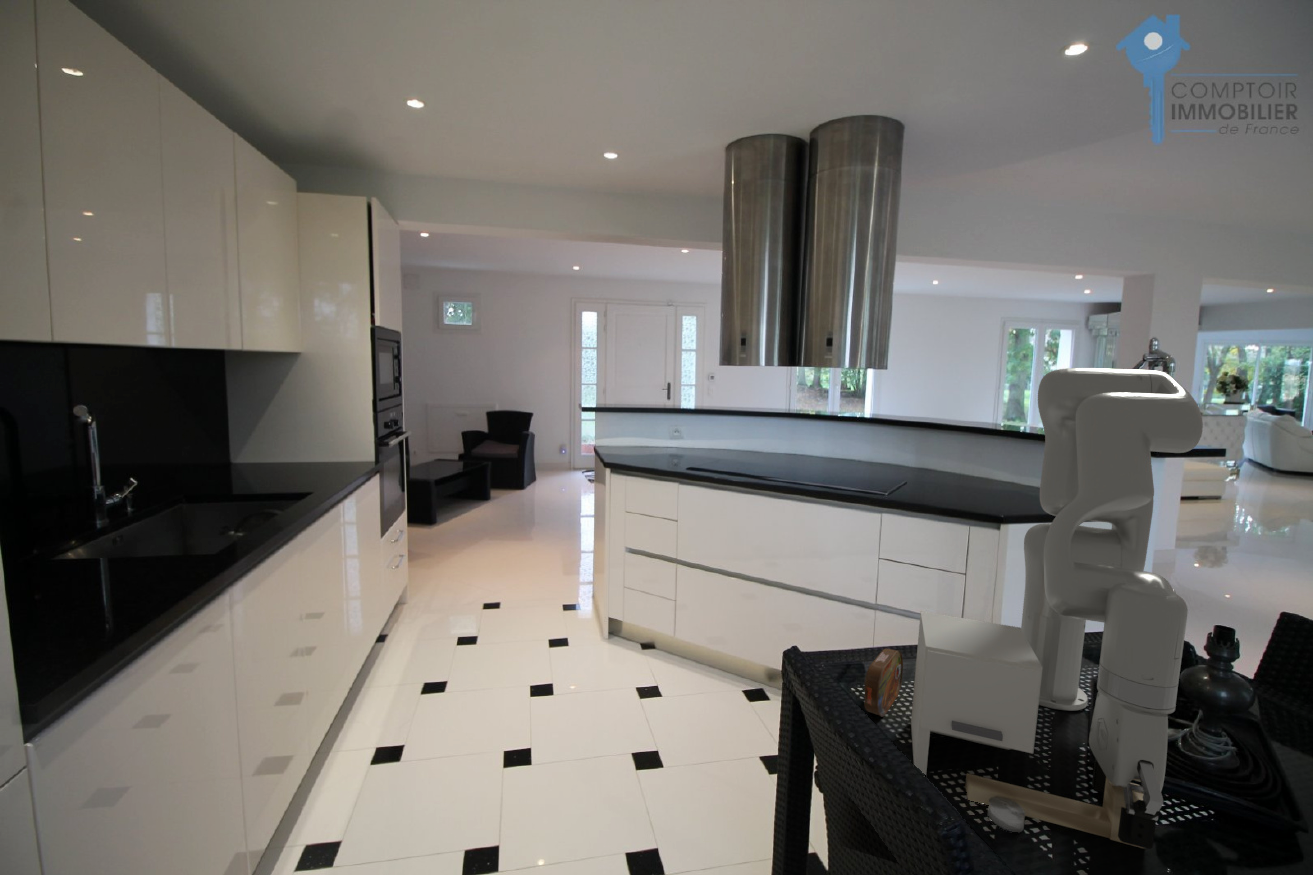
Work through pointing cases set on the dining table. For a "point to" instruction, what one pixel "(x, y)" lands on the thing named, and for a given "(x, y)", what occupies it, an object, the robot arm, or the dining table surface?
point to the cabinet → (974, 685)
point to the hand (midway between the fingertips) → (1119, 816)
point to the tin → (883, 681)
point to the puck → (1006, 813)
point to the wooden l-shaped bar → (1057, 805)
